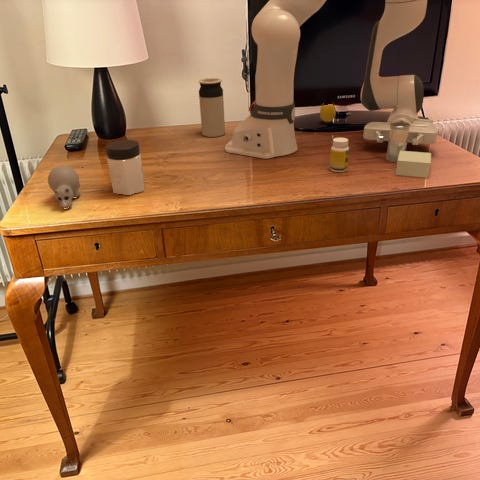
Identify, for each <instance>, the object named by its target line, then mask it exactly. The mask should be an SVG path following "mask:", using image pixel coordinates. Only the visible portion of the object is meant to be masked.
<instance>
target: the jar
mask: <svg viewBox="0 0 480 480" xmlns="http://www.w3.org/2000/svg"><path fill="white" fill-rule="evenodd" d="M105 154H106V157H107V158H106V161H107V166H108V171H109V176H110V177H109V178H110V182H111V187H112V192H113V194H114V193H118V194H124V195H123V196H125V195H130V196H132V195H131V194H133V195H135V194H134V193H137V192H140V193H142V192H141V191H143V192H145V191H144V190H145V188H146V181H145V174H144V168H143V162H142V154H141V149H140V144H139V142H138V141H136V140H134V139H121V140H120V139H119V140H115V141H111V142H109V143H107V144H106V145H105ZM118 194H117V195H118ZM137 194H138V193H137Z"/></svg>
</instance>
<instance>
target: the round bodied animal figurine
mask: <svg viewBox="0 0 480 480" xmlns="http://www.w3.org/2000/svg"><path fill="white" fill-rule="evenodd" d="M47 184H48V186H49V189H51V190H52V191H53V192H54V198H55V200H56V201H57V202H59V206H60V207H61V209H63V208H68V207H71V208H72V206H73V197H78V196H80V197H81V191H80V190H79V189H80V188H81V182H80V177H79V175H78V172H77V171H76V170H75V169H73V168H72V167H71V166H68V165H58V166H56V167H54V168H52V170H50V171H49V173H48V176H47Z"/></svg>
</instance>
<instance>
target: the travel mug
mask: <svg viewBox="0 0 480 480" xmlns="http://www.w3.org/2000/svg"><path fill="white" fill-rule="evenodd" d="M198 83H199V86H200V88H199V90H198V97H199V98H198V99H199V111H200V122H201V124H200V125H201V134H202V135H203V136H204V137H207V138H217V137H218V138H219V137H222V136H223V135H225V134H226V125H225V122H226V119H225V105H224V101H225V100H224V89H223V87H222V86H221V85H222V84H221V83H222V79H221V78H219V77H206V78H201V79H199V80H198Z"/></svg>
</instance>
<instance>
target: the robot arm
mask: <svg viewBox="0 0 480 480" xmlns="http://www.w3.org/2000/svg"><path fill="white" fill-rule="evenodd" d="M326 1H327V0H268V1H267V3H266V4H265V5H264V6H263V7H262V8H261V10H260V11H259V12H258V13H257V14H256V16H255V17H254V19H253V20H252V24H251V35H252V36H251V37H252V38H253V40H254V43H255V44H256V45H257V56H256V57H257V59H256V69H255V70H256V71H255V76H254V77H255V100H254V101H253V102H252V104H250V105H249V107H248V112H249V114H250V115H248V116H247V117H246V118H245V119H243V120H242V121H241V122H240V123H238V124H237V125H236V127H235V128H234V129H233V131H232V134H231V135H232V137H231V140H229V141H228V142H227V143H226V144H225V146H224V150H225V152H226V153H230V154H237V155H242V156H247V157H253V158H260V159H264V160H265V159H266V160H267V159H271V158H274V157H282V156H286V155H291V154H293V153H295V152H297V150H298V148H299V147H298V144H297V140H296V136H295V135H296V134H295V127H294V122H295V118H296V108H295V104H296V103H295V101H294V88H295V87H294V85H295V83H294V82H295V81H294V80H295V79H294V78H295V71H296V70H295V69H296V63H297V57H298V49H299V42H300V39H301V29H300V27H301V26H302V25H303V24H304V23H305V22H306V21H308V19H309V18H311V17H312V16H313V15H315V13H317V12H318V11H319V10H320V9H321V8H322V7H323V5H324V4H325V2H326ZM427 6H428V0H385V5H384V12H383V14H382V15H381V18H380V20H378V21H376V22H375V23H374V26H373V29H372V32H371V37H370V43H369V48H368V55H367V62H366V66H365V68H366V69H365V74H364V80H363V84H362V87H361V91H360V101H361V105H362V106H363V107H364V109H366V110H368V111H369V112H374V111H380V110H390V109H391V110H392V111H391V112H390V114H389V116H388V119H387V121H385V122H384V121H383V122H381V121H370V122H368V123H367V124H365V126H364V128H363V135H362V137H363V139H365V140H370V141H371V140H372V141H377V143H384V141H385V142H388V141H389V133H390V124H391V123H394V122H404V123H408V124H410V128H409V133H408V140H407V143H411V144H412V146H418V145H419V144H421V145H422V144H423V145H435V144H436V141H437V136H438V128H437V125H436V124H435V123H434V120H433V118H431V117H425V116H420V115H418V114H419V112H420V111H421V109H423V104H424V94H425V92H424V83H423V80H421V78H420V77H419V75H416V74H407V75H406V74H404V75H398V76H397V75H395V76H380V75H379V74H380V67H381V63H382V62H381V61H382V57H383V56H382V55H383V51H384V49H385V48H386V46H387V45H388V44H390V43H391V42H393V41H395V40H397V39H398V38H401V37H403V36H406V35H407V34H409V33H411V32H412V31H414V30H415V29H416V28H417V27H419V25H421V23H422V22H423V21H424V19H425V17H426V14H427V13H426V12H427Z"/></svg>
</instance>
